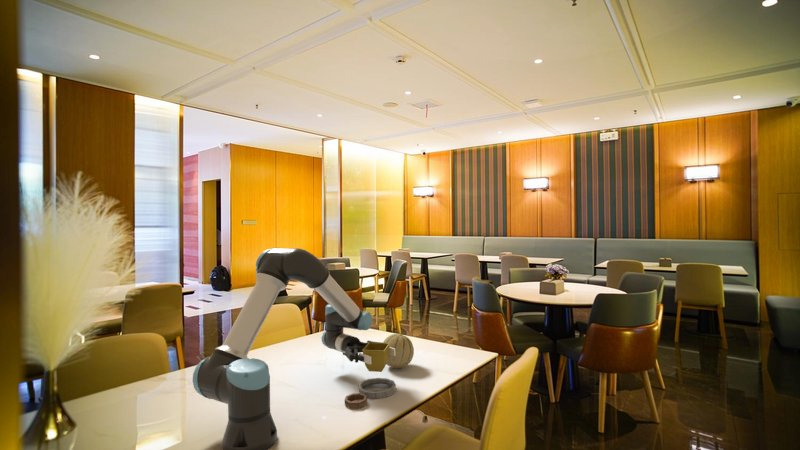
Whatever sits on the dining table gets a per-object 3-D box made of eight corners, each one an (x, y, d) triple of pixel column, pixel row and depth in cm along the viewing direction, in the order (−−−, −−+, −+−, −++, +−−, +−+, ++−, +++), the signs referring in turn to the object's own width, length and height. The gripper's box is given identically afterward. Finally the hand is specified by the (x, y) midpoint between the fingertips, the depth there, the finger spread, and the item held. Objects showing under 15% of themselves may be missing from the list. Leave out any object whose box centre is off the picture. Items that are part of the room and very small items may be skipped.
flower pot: (385, 374, 147) (384, 350, 147) (362, 373, 148) (361, 349, 148) (390, 366, 155) (389, 343, 155) (369, 365, 157) (368, 342, 157)
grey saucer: (375, 402, 142) (374, 396, 142) (351, 391, 152) (351, 385, 152) (402, 389, 151) (402, 384, 151) (378, 380, 162) (378, 375, 162)
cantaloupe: (377, 372, 170) (376, 337, 170) (386, 360, 185) (385, 328, 185) (410, 374, 167) (409, 338, 167) (417, 362, 181) (416, 329, 181)
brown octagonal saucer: (353, 410, 135) (353, 404, 135) (340, 404, 141) (340, 398, 141) (371, 403, 141) (370, 397, 141) (357, 397, 146) (357, 391, 146)
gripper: (370, 346, 173) (405, 357, 157) (324, 361, 156) (358, 375, 141) (370, 329, 173) (405, 339, 157) (323, 342, 156) (357, 354, 141)
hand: (383, 356), depth 149 cm, fingers closed on flower pot, 11 cm apart
